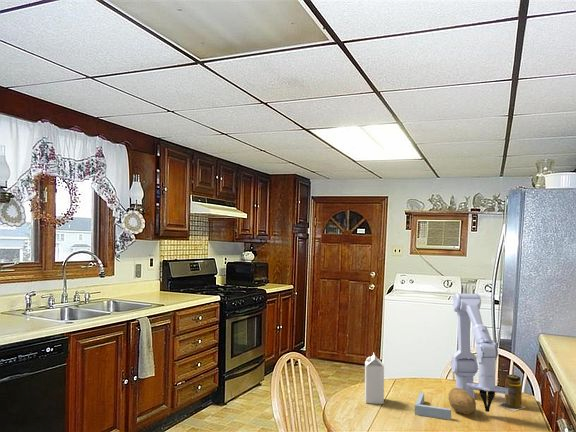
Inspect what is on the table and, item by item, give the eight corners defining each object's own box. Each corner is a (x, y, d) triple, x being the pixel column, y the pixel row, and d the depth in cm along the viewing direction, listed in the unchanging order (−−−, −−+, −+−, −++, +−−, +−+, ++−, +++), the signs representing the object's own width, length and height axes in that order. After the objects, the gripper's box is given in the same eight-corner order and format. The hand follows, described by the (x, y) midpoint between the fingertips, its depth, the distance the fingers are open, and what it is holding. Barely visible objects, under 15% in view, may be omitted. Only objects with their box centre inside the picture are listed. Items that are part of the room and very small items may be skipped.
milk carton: (381, 398, 195) (382, 352, 196) (383, 404, 188) (383, 356, 189) (364, 397, 196) (364, 351, 196) (365, 403, 188) (366, 356, 189)
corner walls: (420, 400, 192) (420, 392, 192) (453, 405, 187) (453, 396, 187) (414, 414, 177) (414, 405, 178) (450, 420, 172) (450, 410, 173)
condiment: (526, 407, 186) (526, 377, 187) (514, 411, 182) (514, 380, 182) (509, 401, 193) (508, 372, 193) (497, 405, 188) (496, 375, 188)
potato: (457, 419, 173) (457, 397, 173) (443, 405, 187) (443, 385, 187) (483, 419, 173) (482, 397, 174) (467, 405, 188) (467, 385, 188)
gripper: (466, 375, 177) (466, 411, 176) (508, 379, 171) (508, 417, 170) (466, 370, 183) (467, 405, 183) (507, 374, 178) (507, 410, 177)
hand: (487, 410), depth 177 cm, fingers closed
